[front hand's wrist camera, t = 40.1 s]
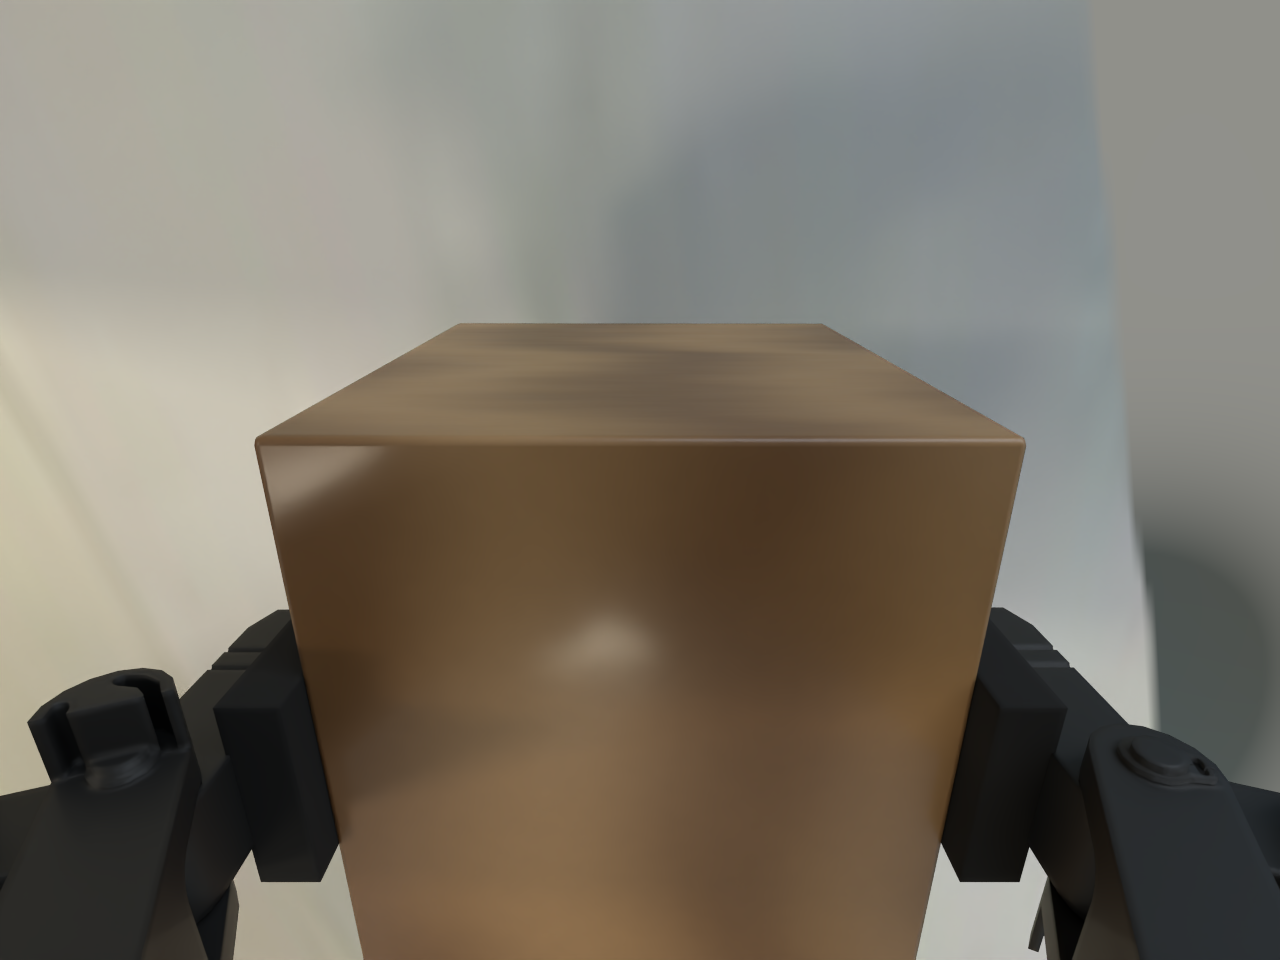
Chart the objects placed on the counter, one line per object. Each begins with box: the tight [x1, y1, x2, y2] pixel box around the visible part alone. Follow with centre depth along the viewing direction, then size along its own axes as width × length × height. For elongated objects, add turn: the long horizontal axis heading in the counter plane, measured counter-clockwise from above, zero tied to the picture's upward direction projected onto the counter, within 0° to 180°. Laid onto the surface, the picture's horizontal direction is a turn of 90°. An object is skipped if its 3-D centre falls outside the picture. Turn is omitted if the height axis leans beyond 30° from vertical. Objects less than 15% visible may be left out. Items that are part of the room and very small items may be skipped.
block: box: [254, 323, 1026, 960], centre depth 12 cm, size 8×8×8 cm
